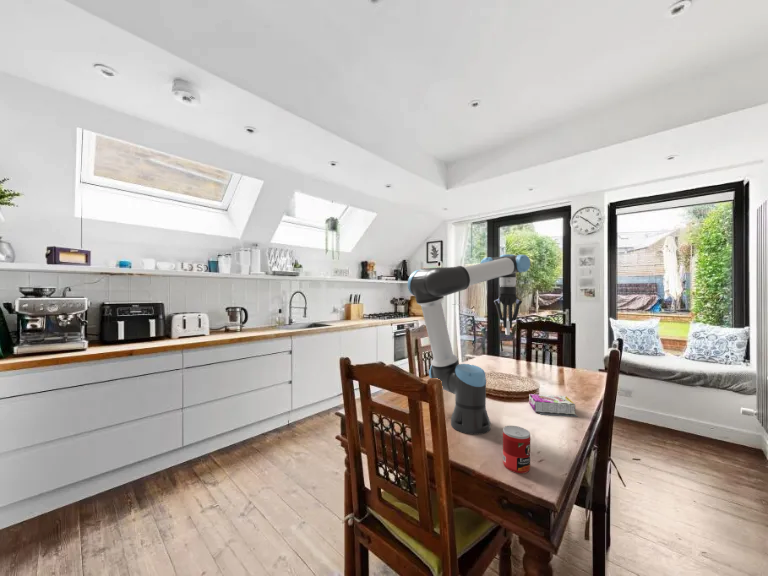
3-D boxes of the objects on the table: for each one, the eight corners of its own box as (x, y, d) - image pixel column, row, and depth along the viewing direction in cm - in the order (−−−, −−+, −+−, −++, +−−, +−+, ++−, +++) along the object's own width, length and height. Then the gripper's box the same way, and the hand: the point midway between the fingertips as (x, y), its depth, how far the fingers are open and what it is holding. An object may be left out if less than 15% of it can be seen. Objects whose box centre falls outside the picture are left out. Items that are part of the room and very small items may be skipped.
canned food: (521, 477, 93) (521, 439, 93) (497, 464, 100) (497, 429, 100) (535, 468, 98) (535, 432, 98) (511, 457, 104) (511, 423, 104)
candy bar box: (528, 393, 152) (566, 395, 149) (528, 403, 152) (566, 406, 149) (535, 400, 141) (576, 404, 138) (535, 412, 141) (575, 415, 138)
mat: (540, 414, 140) (540, 413, 140) (530, 403, 154) (530, 402, 154) (577, 416, 138) (577, 415, 138) (563, 405, 152) (563, 404, 152)
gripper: (495, 286, 154) (495, 335, 154) (524, 286, 152) (523, 336, 152) (492, 286, 162) (492, 333, 161) (519, 286, 160) (519, 333, 160)
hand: (507, 334), depth 157 cm, fingers closed
